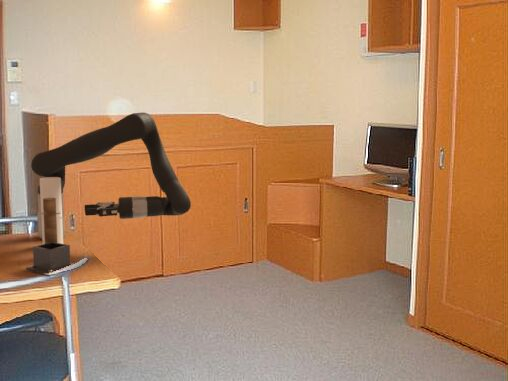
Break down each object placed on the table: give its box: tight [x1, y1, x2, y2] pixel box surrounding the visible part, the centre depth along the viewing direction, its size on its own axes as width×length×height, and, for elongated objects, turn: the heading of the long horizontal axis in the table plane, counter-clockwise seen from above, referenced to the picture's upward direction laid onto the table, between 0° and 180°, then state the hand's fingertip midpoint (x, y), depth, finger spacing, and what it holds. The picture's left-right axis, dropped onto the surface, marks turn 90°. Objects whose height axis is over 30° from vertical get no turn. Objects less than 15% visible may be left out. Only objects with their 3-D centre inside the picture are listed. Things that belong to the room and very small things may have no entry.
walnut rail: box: [43, 198, 57, 244], centre depth 206 cm, size 4×4×20 cm
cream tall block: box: [39, 177, 64, 244], centre depth 219 cm, size 7×7×25 cm
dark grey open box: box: [25, 242, 73, 275], centre depth 192 cm, size 11×11×8 cm
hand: (84, 210), depth 208 cm, fingers open, 8 cm apart
